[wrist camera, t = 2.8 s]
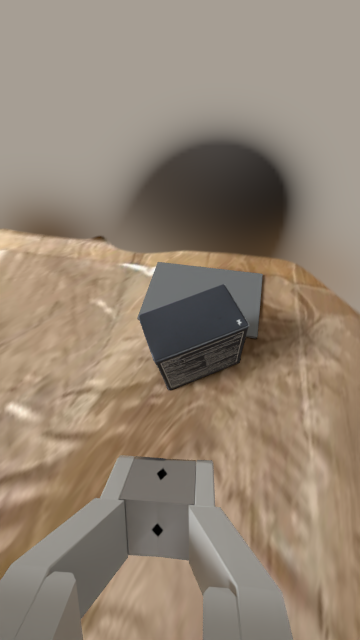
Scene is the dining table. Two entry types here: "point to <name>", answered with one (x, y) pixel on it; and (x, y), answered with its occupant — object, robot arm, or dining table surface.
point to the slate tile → (204, 288)
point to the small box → (195, 335)
